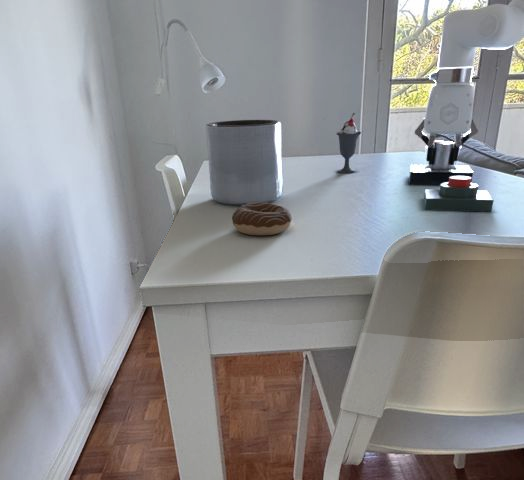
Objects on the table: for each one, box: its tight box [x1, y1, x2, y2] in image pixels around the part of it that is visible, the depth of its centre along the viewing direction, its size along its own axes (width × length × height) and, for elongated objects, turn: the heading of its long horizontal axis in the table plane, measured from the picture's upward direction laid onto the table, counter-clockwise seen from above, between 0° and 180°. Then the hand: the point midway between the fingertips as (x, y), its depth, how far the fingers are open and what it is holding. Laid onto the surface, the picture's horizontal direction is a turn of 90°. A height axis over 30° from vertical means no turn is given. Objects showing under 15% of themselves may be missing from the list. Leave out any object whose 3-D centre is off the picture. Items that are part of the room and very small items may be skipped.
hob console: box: [408, 164, 474, 186], centre depth 116 cm, size 14×10×3 cm
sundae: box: [335, 112, 362, 174], centre depth 129 cm, size 7×7×15 cm
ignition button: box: [448, 176, 472, 187], centre depth 92 cm, size 4×4×2 cm
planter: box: [205, 119, 284, 206], centre depth 102 cm, size 16×16×16 cm
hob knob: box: [431, 140, 454, 170], centre depth 113 cm, size 4×4×6 cm
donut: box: [231, 202, 293, 237], centre depth 82 cm, size 11×11×4 cm
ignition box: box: [423, 182, 494, 213], centre depth 93 cm, size 12×9×4 cm
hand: (441, 163), depth 114 cm, fingers closed on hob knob, 4 cm apart
